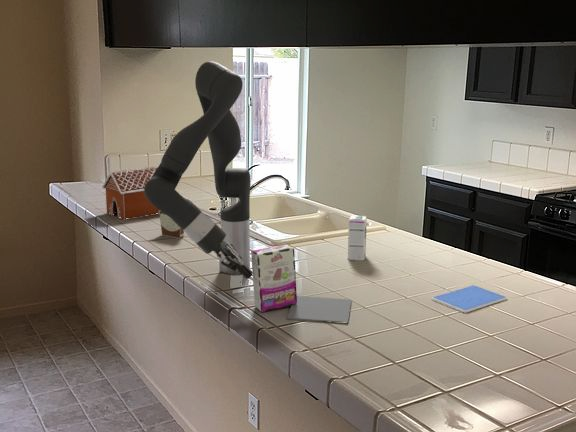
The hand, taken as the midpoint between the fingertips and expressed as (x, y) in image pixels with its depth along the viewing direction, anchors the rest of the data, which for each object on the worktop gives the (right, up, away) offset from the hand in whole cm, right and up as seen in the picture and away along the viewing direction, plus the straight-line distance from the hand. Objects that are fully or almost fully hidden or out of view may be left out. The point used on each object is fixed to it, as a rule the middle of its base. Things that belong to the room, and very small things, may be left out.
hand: (250, 276), depth 170 cm
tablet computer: (+63, -8, +10) cm, 64 cm away
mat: (+19, -9, +1) cm, 21 cm away
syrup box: (+34, +2, +47) cm, 58 cm away
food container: (-33, +9, +71) cm, 79 cm away
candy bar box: (+7, -9, +2) cm, 11 cm away
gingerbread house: (-55, +18, +106) cm, 121 cm away
